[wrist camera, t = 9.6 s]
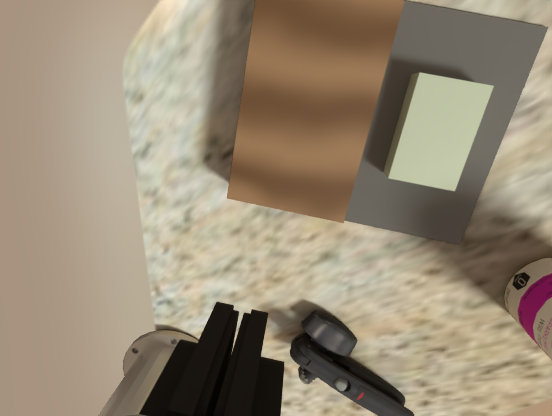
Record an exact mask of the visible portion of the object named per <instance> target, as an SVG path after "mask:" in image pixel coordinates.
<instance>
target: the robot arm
mask: <svg viewBox="0 0 552 416" xmlns="http://www.w3.org/2000/svg"><path fill="white" fill-rule="evenodd" d="M233 308H234V305H230V304H225V303H220V302H216V304H215V306H214V309H213V311H212V313H211V315H210V317H209V319H208V322H207V324H206V326H205V328H204V330H203V332H202V334H201V337H200V339H199V341H198V340H196V339H194V338H193V337H190V336H188V335H186V334H183V333H180V332H176V331H169V330H159V331H153V332H149V333H147V334H144V335H142V336H140V337H139V338H138V339H136V340H135V341H134V342H133V344H132V345H131V346H130V348H129V349H128V351H127V352H126V354H125V357H124V360H123V371H124V376H125V377H124V378H123V380H122V381H121V383H120V384H119V386H118V387H117V389H116V390H115V392H114V393H113V395H112V396H111V398H110V399H109V400H108V402H107V403H106V405H105V406H104V408H103V409H102V411H101V412H100V414H99V415H98V416H280V414H281V401H282V388H283V375H284V362H282V361H278V360H273V359H269V358H264V357H261V351H262V346H263V340H264V335H265V329H266V323H267V318H268V313H266V312H262V311H257V310H253V309H252V311H251V314H249V313H244V315H243V318H242V321H241V325H240V328H239V331H238V335H237V338H236V341H235V345H234V348H233V343H234V337H235V332H236V327H237V321H238V316H239V311H235V310H233ZM232 348H233V351H232ZM231 354H232V355H231Z"/></svg>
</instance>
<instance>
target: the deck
mask: <svg viewBox="0 0 552 416" xmlns="http://www.w3.org/2000/svg"><path fill="white" fill-rule="evenodd" d="M404 1H405V0H255V6H254V13H253V20H252V27H251V34H250V41H249V48H248V55H247V62H246V69H245V76H244V83H243V90H242V97H241V103H240V110H239V117H238V124H237V131H236V138H235V145H234V152H233V159H232V166H231V173H230V180H229V187H228V194H227V198H228V199H233V200H238V201H242V202H247V203H252V204H256V205H261V206H266V207H271V208H275V209H280V210H285V211H289V212H294V213H299V214H303V215H308V216H313V217H318V218H322V219H327V220H332V221H336V222H341V223H344V220H345V216H346V212H347V209H348V205H349V202H350V198H351V194H352V191H353V187H354V183H355V180H356V176H357V172H358V169H359V165H360V162H361V158H362V154H363V151H364V147H365V143H366V140H367V136H368V132H369V129H370V125H371V121H372V118H373V114H374V111H375V107H376V103H377V100H378V96H379V92H380V89H381V85H382V81H383V78H384V74H385V71H386V67H387V63H388V60H389V56H390V52H391V49H392V45H393V41H394V38H395V34H396V31H397V27H398V23H399V20H400V16H401V12H402V9H403V5H404Z"/></svg>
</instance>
